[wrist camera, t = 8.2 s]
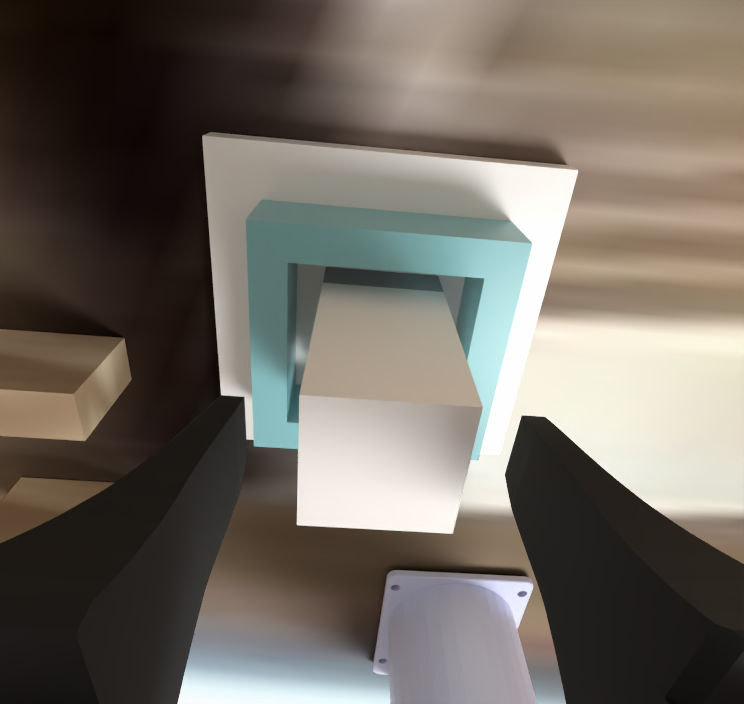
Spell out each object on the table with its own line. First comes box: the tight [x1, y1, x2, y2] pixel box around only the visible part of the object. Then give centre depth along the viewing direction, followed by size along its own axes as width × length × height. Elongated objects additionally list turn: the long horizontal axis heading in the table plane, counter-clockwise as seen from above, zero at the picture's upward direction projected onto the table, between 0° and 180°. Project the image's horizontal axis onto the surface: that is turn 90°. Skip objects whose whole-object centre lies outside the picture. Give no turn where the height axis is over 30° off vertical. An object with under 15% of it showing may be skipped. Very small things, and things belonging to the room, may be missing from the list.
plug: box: [297, 267, 483, 534], centre depth 15 cm, size 4×4×8 cm
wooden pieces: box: [0, 329, 132, 543], centre depth 21 cm, size 10×6×4 cm, turn 175°
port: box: [202, 132, 579, 460], centre depth 18 cm, size 12×12×4 cm
